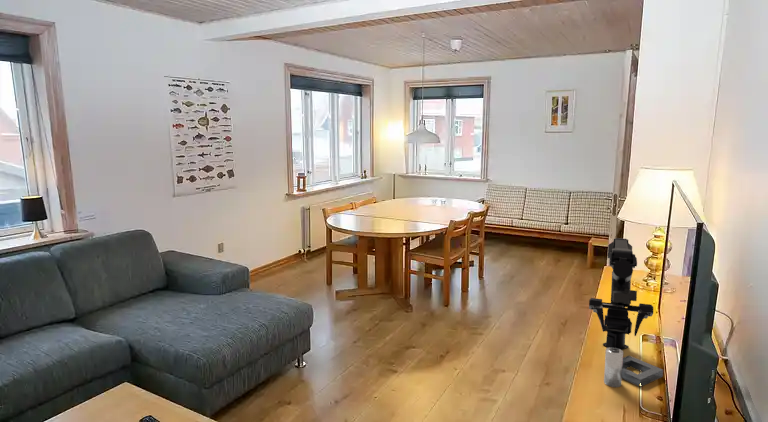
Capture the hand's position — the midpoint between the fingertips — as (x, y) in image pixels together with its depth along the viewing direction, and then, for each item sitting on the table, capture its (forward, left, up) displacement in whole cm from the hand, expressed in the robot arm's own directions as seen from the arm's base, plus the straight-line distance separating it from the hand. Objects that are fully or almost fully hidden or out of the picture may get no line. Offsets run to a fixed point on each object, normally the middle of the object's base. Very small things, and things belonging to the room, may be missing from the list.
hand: (619, 333), depth 156 cm
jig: (-7, +2, -15) cm, 17 cm away
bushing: (+4, +2, -15) cm, 16 cm away
